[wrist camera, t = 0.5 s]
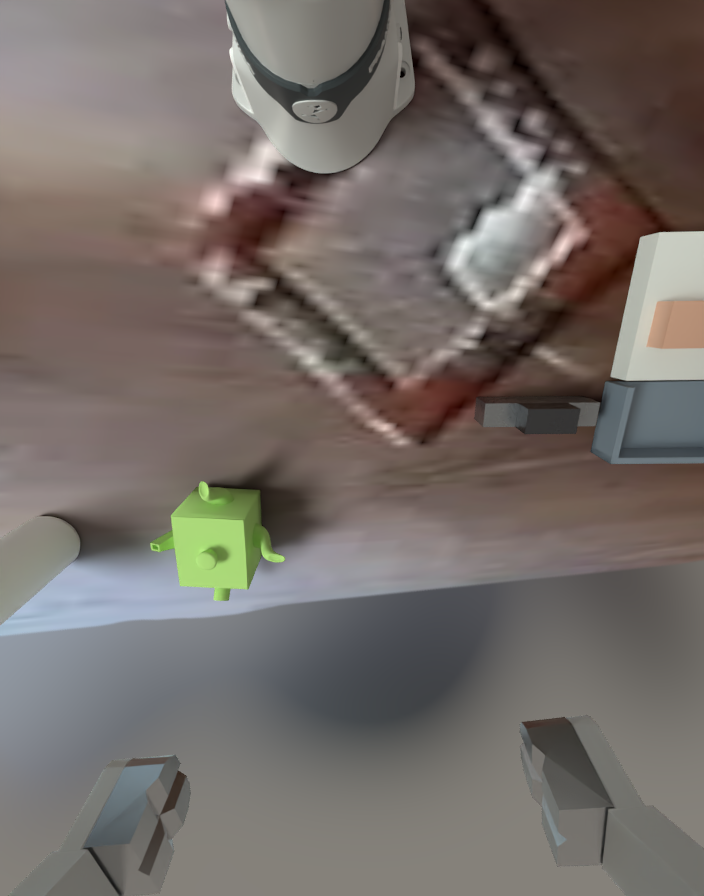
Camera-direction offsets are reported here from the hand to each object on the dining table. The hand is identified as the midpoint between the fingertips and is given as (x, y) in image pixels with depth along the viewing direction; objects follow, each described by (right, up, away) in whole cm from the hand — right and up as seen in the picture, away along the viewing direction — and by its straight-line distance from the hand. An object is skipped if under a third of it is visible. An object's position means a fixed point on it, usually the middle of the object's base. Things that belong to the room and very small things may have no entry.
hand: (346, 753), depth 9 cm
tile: (+37, +22, +35) cm, 56 cm away
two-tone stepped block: (+24, +13, +42) cm, 50 cm away
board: (+41, +24, +38) cm, 61 cm away
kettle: (-17, -3, +49) cm, 51 cm away
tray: (+42, +11, +42) cm, 60 cm away
